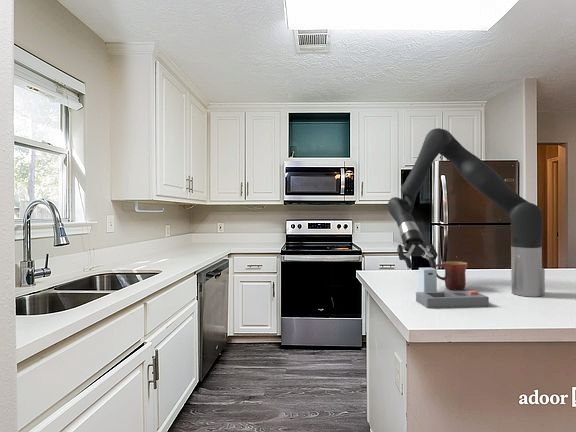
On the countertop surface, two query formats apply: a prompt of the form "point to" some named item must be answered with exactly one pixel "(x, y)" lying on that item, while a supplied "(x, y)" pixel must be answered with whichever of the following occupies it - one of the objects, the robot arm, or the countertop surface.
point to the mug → (454, 275)
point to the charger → (427, 280)
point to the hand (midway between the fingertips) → (422, 267)
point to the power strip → (452, 299)
